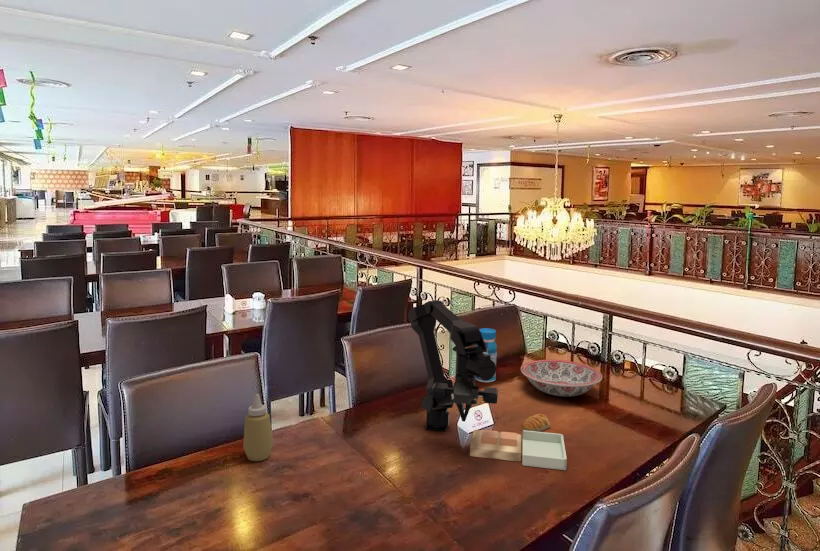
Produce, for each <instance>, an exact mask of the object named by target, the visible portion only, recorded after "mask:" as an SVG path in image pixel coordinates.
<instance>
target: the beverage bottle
mask: <svg viewBox="0 0 820 551" xmlns="http://www.w3.org/2000/svg"><path fill="white" fill-rule="evenodd" d="M479 330H480V332H481V335H482V337H483V340H484V342H485V344H486V349H487V352H483V353H484V354H488V355H490V356H491V360H492V361H493V362H494V363H495V366H496V367H497V357H498V352H497V349H498V345H497V343H496V341H495V340H496V337H497V330H496V329H494V328H487V327H485V328H479ZM475 347H478V345H476V346H475ZM496 374H497V371H496V372H495V375H494V376H493V377H492V378H491V379H490V380H483V379H481V378H479V377H477V376H475V381H477V382H481V383H492V382H495V381H496V379H497V375H496Z"/></svg>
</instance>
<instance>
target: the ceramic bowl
mask: <svg viewBox="0 0 820 551" xmlns="http://www.w3.org/2000/svg"><path fill="white" fill-rule="evenodd" d="M520 372H521V373H522V374H523V376H526V378H527V379H528V381H529V382H530V383H531V385H532V386H533V387H534V388H536V389H537V390H538V391H540V392H543V393H545V394H548V395H552V396H555V397H576V396H580V395H583V394H584V393H586V392H589V391H590V390H591V389H592V388H593V387H594V386H595V385H596V384H599V383H600V382H601V381H602V380H603V375H602V373H601V372H600V371H599V370H597V369H596V368H594V367H592V366H589V365H586V364H584V363H580V362H576V361H570V360H563V359H537V360H532V361H529V362H525V363H524V364H522V366H521V367H520Z"/></svg>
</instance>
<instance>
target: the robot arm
mask: <svg viewBox="0 0 820 551" xmlns="http://www.w3.org/2000/svg"><path fill="white" fill-rule="evenodd" d="M407 318H408V321H409V324H410V326H411V329H412V330H413V331H414V332H415V333H416V334H417V335H418V337H419V338H418V339H419V342H420V347H421V352H422V355H423V359H424V360H423V361H424V365H425V368H426V373H427V376H428V381H427V385H426V387H425V391H426V395H425V396H424V397H423V398H422V400H421V407H422V409H424V410H425V411H426V418H425V419H426V421H425V422H426V423H425V424H426V425H425V427H424V429H425V430H428V431H437V432H446V431H447V429H448V428H449V425H450V411H449V409H452V408H454V404H455V405H456V407H457V409H458V412H459V415H460V418H461V421H462V422H466V420H467V417H468V415H469V412H470V409H471V408H472V406H473V405H477V404H478V399H479V398H480V399H481V398H482V401H484V403H485V404H492V405H495V404H498V398H499V390H498V387H497V388H496V387H491V386H490V387H489V386H484V388H483V390H479V389H480V387H479V385H476V379H475V376H477V377H479V378H481V379H483V380H490V379H491V378H492V377H493V376H494V375H495V372H496V373H497V365H496V366H495V363H494V362H493V361H492V360H491V356H490V355H488V354H484V353H483V352H487V349H486V344H485V342H484V340H483V337H482V335H481V332H480V330H479V329H480V328H479V327H478V326H477V325H475V324H473V323H472V322H469V321H464V320H462V319H461V318H460V317H458V316H457V315H456V314H455V313H454V312H453V311H451V310H450V309H449V308H448V307H447V305H446V306H445V304H444V302H443V301H442V300H439V299H438V300H437V299H436V300H428V301H426V302H424V303H423V304H420V305H418V306H413V307H411V308H410V310H409V311H408V313H407ZM437 322H438V324H440V325H441V326H442V327H443V328H444V329H445V330H446V331H448V333H449V336H450V340H451V341H452V343H453V344H454V345H455V346H453V347H452V352H455V353H456V354H455V377H454V378H455V380H454V382H453V380H452V379H448V378H447V377H446V376H445V373H444V369H443V366H442V361H441V358H440V353H439V348H438V344H437V340H436V336H435V332H434V331H435V328H436V325H437ZM476 345H478V347H476ZM453 383H454V384H453Z"/></svg>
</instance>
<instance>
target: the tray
mask: <svg viewBox="0 0 820 551" xmlns="http://www.w3.org/2000/svg"><path fill="white" fill-rule="evenodd" d="M564 440H565V438H564V434H563V433H555V432H554V433H553V432H546V431H545V432H544V431H540V432H536V431H526V430H522V452H521V457H522V458H521V460H522V462H521V464H522V466H525V467H534V468H540V469H541V468H542V469H549V470H550V469H552V470H559V471H560V470H562V471H567V463H568V459H567V453H566V446H565V441H564Z"/></svg>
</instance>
